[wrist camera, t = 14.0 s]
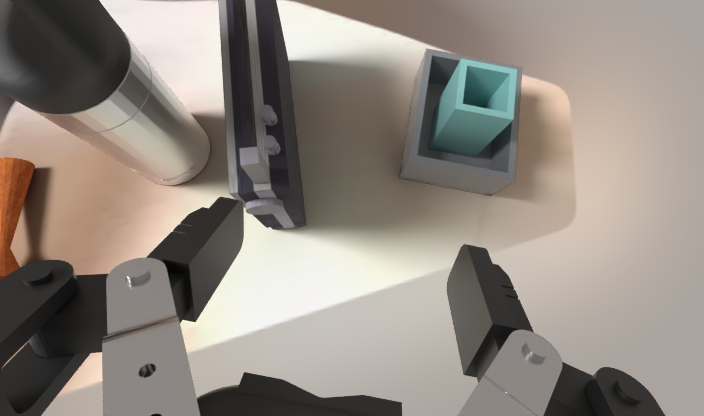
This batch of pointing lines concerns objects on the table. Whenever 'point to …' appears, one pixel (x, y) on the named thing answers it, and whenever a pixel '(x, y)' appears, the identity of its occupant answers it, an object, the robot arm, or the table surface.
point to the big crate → (445, 168)
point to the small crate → (473, 108)
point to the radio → (260, 114)
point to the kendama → (11, 206)
